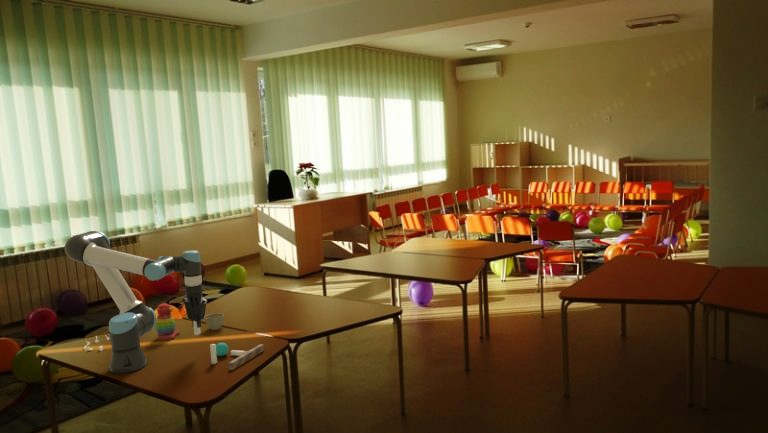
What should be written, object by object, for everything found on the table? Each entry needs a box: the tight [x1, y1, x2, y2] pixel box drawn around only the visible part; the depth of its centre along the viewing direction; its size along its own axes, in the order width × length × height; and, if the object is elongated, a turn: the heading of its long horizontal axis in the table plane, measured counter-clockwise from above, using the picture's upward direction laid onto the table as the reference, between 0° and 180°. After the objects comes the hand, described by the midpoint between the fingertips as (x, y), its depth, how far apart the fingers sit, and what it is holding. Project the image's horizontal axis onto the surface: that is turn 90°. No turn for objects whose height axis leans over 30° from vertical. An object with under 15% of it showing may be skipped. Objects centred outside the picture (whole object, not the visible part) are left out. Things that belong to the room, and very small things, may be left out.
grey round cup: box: [203, 312, 225, 331], centre depth 310 cm, size 10×10×7 cm
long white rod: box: [227, 343, 265, 371], centre depth 260 cm, size 24×2×3 cm, turn 158°
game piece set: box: [82, 334, 110, 352], centre depth 295 cm, size 19×20×4 cm
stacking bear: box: [155, 302, 181, 341], centre depth 300 cm, size 11×10×18 cm
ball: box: [215, 342, 229, 357], centre depth 268 cm, size 6×6×6 cm
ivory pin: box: [229, 349, 249, 357], centre depth 266 cm, size 2×2×8 cm
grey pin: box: [209, 343, 218, 365], centre depth 258 cm, size 2×2×8 cm
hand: (197, 333), depth 270 cm, fingers closed
